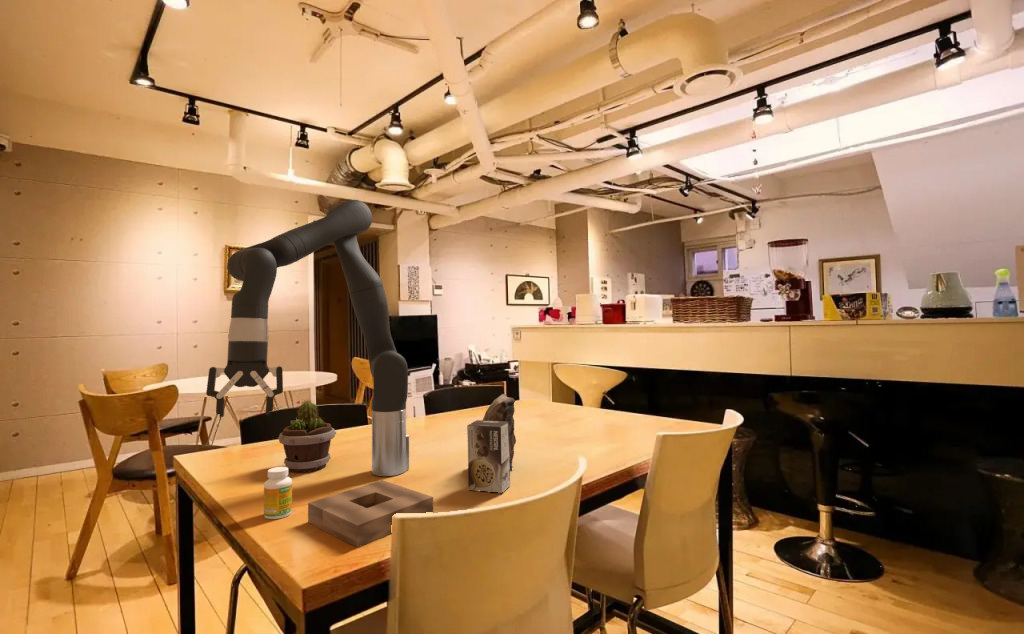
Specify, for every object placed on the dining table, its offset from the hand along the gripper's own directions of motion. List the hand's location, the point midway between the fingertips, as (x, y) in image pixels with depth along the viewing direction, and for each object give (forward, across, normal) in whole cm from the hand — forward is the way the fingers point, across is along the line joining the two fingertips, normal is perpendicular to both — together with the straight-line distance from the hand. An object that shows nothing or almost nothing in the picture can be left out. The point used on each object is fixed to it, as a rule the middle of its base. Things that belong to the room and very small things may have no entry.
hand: (244, 415), depth 101 cm
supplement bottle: (+22, -7, +2) cm, 23 cm away
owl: (+19, -62, -7) cm, 65 cm away
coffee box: (+20, -54, +9) cm, 58 cm away
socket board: (+21, -24, +14) cm, 35 cm away
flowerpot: (+20, -15, -32) cm, 41 cm away
